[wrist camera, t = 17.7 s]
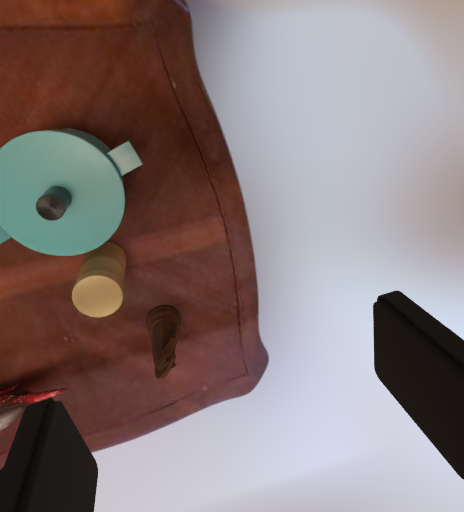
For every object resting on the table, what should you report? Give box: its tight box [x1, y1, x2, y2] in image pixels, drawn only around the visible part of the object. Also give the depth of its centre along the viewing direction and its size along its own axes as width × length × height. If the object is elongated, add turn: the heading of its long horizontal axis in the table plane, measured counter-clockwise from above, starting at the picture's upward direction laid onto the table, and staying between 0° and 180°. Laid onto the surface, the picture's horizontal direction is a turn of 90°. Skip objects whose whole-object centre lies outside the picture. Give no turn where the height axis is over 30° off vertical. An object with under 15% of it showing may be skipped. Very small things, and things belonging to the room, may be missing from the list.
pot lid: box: [0, 130, 125, 256], centre depth 31 cm, size 11×11×4 cm
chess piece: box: [146, 306, 181, 379], centre depth 45 cm, size 5×5×10 cm
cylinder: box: [72, 242, 126, 317], centre depth 40 cm, size 5×5×9 cm
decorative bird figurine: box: [0, 385, 67, 431], centre depth 44 cm, size 3×18×10 cm, turn 113°
